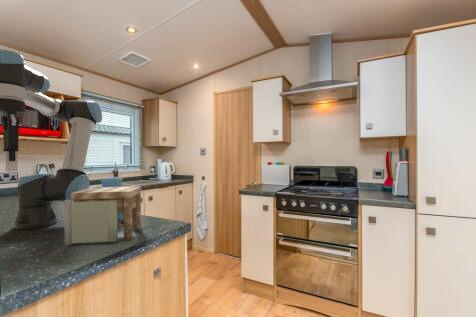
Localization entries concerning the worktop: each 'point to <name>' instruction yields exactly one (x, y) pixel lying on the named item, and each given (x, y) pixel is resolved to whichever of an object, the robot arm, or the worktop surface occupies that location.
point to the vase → (113, 183)
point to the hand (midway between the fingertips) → (11, 171)
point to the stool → (125, 203)
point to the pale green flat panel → (90, 221)
